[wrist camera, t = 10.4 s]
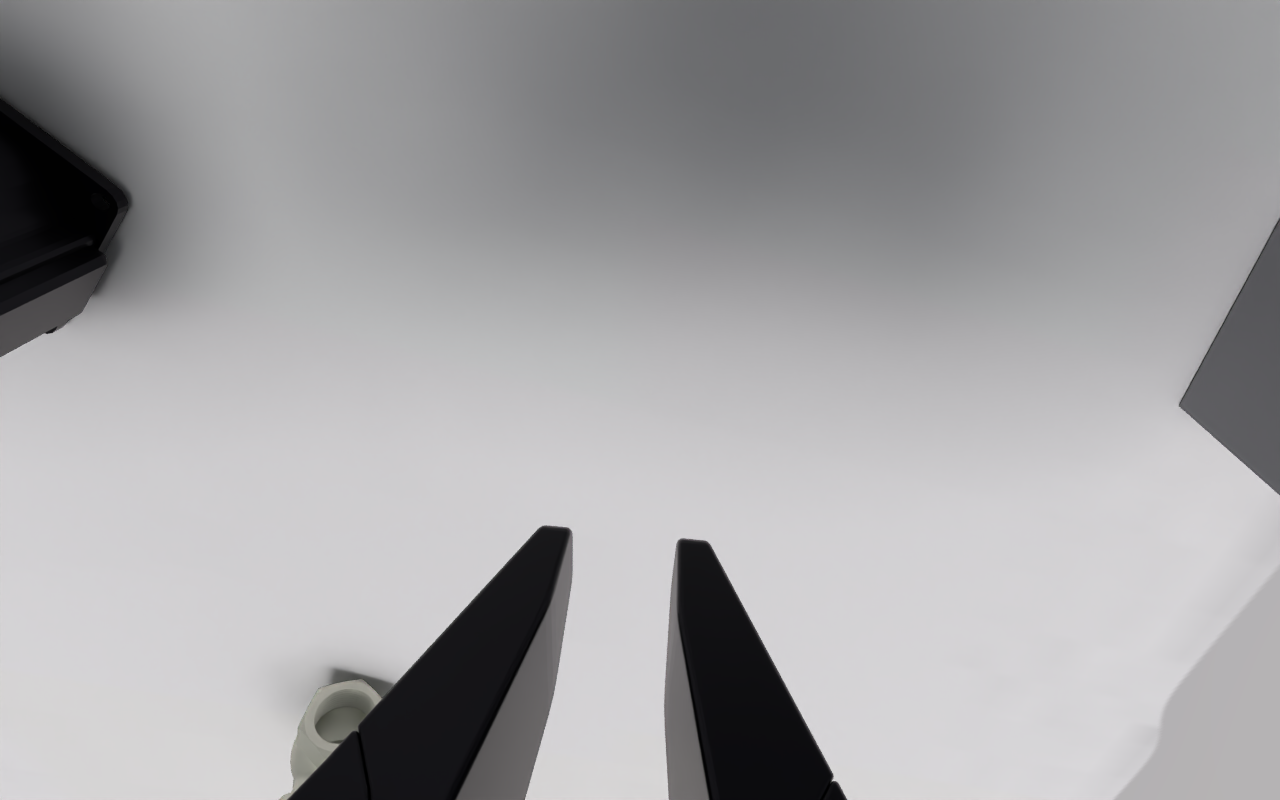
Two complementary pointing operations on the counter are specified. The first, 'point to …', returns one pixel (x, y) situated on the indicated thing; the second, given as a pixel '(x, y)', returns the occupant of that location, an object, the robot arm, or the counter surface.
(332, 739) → the valve
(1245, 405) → the side door
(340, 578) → the counter surface
